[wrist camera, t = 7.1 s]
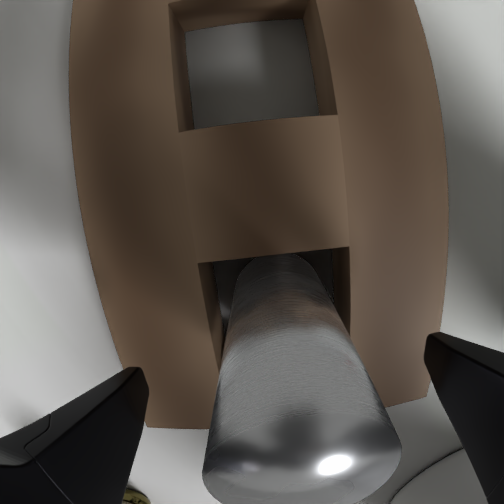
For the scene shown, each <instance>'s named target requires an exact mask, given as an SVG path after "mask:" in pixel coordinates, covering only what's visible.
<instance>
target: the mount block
mask: <svg viewBox="0 0 504 504" xmlns="http://www.w3.org/2000/svg"><path fill="white" fill-rule="evenodd" d="M283 19H303V22H304V27H305V32H306V37H307V42H308V48H309V53H310V59H311V65H312V70H313V76H314V83H315V89H316V96H317V102H318V109H319V116H307V117H293V118H281V119H270V120H260V121H251V122H243V123H235V124H228V125H221V126H214V127H208V128H201V129H195V130H194V123H193V114H192V105H191V96H190V86H189V76H188V66H187V55H186V43H185V32H188V31H193V30H198V29H203V28H209V27H215V26H222V25H229V24H237V23H245V22H255V21H267V20H283ZM69 106H70V125H71V138H72V149H73V159H74V168H75V176H76V183H77V190H78V197H79V203H80V209H81V215H82V221H83V226H84V231H85V236H86V241H87V246H88V250H89V255H90V259H91V264H92V268H93V272H94V276H95V280H96V284H97V288H98V291H99V295H100V299H101V302H102V306H103V309H104V313H105V316H106V319H107V322H108V326H109V329H110V332H111V335H112V338H113V341H114V344H115V347H116V350H117V353H118V356H119V359H120V361H121V364H122V367H123V370H124V369H126V368H127V367H140V368H142V370H143V372H144V375H145V378H146V381H147V383H148V386H149V398H148V404H147V409H146V414H145V420H144V421H145V423H146V425H147V427H152V428H174V429H210V424H211V418H212V413H213V407H214V401H215V396H216V390H217V384H218V379H219V373H220V368H221V362H222V357H223V351H224V346H225V340H226V338H225V333H224V327H223V322H222V316H221V310H220V304H219V299H218V293H217V287H216V281H215V275H214V268H213V261H222V260H231V259H241V258H250V257H259V256H268V255H277V254H286V253H295V252H304V251H313V250H321V249H330V248H332V257H333V280H334V307H335V309H336V311H337V313H338V314H339V316H340V318H341V320H342V322H343V324H344V326H345V328H346V330H347V332H348V334H349V336H350V338H351V340H352V342H353V344H354V346H355V348H356V350H357V352H358V354H359V356H360V358H361V360H362V362H363V364H364V366H365V368H366V370H367V372H368V374H369V376H370V378H371V380H372V382H373V384H374V386H375V388H376V390H377V392H378V395H379V397H380V399H381V401H382V403H383V405H384V407H390V406H394V405H398V404H401V403H405V402H409V401H413V400H416V399H420V398H423V397H426V396H427V392H428V388H429V383H430V379H431V378H430V375H429V373H428V370H427V368H426V365H425V363H424V350H425V344H426V338H427V336H428V335H429V334H431V333H435V332H440V326H441V319H442V312H443V303H444V295H445V284H446V272H447V257H448V230H449V204H448V176H447V161H446V149H445V140H444V131H443V123H442V116H441V109H440V103H439V97H438V91H437V86H436V80H435V76H434V71H433V66H432V62H431V58H430V53H429V49H428V45H427V42H426V38H425V34H424V31H423V27H422V24H421V20H420V17H419V14H418V11H417V8H416V5H415V2H414V0H73V6H72V16H71V29H70V47H69Z"/></svg>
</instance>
